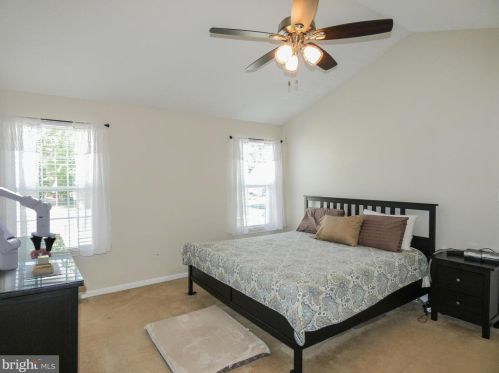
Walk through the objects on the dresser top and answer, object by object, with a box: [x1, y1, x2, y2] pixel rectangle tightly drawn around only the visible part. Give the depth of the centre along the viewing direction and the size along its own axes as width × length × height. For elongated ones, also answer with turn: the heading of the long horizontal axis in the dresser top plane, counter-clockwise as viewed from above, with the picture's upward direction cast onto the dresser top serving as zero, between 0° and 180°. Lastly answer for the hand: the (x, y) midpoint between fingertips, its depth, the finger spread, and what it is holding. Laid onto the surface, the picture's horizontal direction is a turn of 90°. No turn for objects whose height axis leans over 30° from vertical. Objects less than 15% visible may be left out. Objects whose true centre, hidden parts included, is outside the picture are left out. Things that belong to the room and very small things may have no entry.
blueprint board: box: [24, 261, 62, 281], centre depth 150 cm, size 24×14×4 cm, turn 37°
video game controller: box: [29, 247, 52, 260], centre depth 175 cm, size 10×5×7 cm, turn 141°
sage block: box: [37, 255, 50, 264], centre depth 155 cm, size 4×4×5 cm
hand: (43, 250), depth 155 cm, fingers open, 7 cm apart
